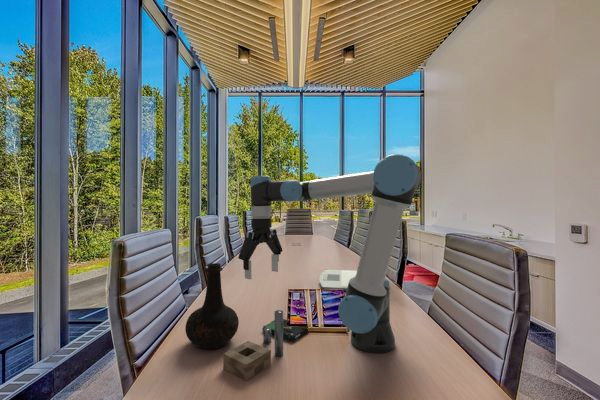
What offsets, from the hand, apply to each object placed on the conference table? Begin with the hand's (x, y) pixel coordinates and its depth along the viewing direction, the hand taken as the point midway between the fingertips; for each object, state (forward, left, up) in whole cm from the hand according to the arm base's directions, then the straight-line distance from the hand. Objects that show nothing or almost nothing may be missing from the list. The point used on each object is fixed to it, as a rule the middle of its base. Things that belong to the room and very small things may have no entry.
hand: (262, 274), depth 110 cm
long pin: (-14, +7, -23) cm, 27 cm away
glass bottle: (+10, +15, -23) cm, 29 cm away
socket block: (-11, +18, -23) cm, 31 cm away
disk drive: (-5, -8, -23) cm, 25 cm away
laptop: (+9, -83, -23) cm, 86 cm away
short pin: (-5, +3, -23) cm, 23 cm away
